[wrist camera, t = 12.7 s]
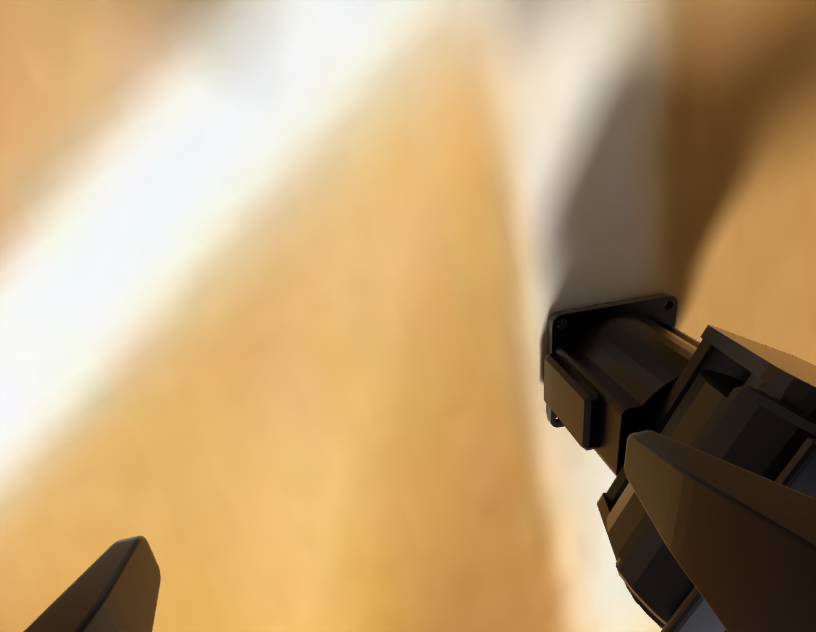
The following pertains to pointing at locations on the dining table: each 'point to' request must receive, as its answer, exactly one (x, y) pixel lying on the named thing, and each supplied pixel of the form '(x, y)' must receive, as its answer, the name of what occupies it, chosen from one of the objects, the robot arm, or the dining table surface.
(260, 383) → the dining table surface
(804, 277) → the dining table surface
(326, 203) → the dining table surface
